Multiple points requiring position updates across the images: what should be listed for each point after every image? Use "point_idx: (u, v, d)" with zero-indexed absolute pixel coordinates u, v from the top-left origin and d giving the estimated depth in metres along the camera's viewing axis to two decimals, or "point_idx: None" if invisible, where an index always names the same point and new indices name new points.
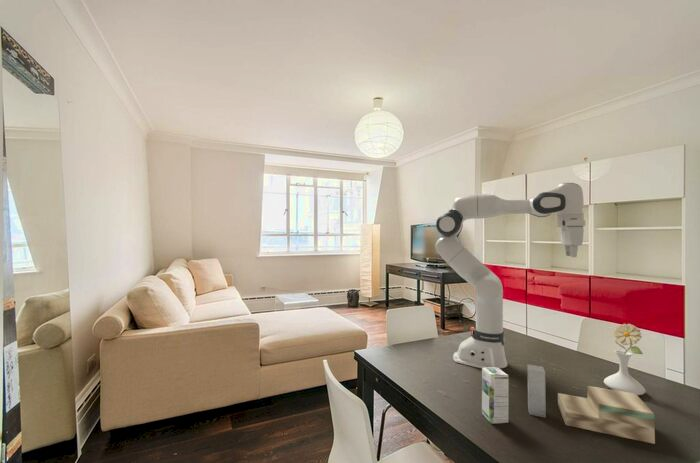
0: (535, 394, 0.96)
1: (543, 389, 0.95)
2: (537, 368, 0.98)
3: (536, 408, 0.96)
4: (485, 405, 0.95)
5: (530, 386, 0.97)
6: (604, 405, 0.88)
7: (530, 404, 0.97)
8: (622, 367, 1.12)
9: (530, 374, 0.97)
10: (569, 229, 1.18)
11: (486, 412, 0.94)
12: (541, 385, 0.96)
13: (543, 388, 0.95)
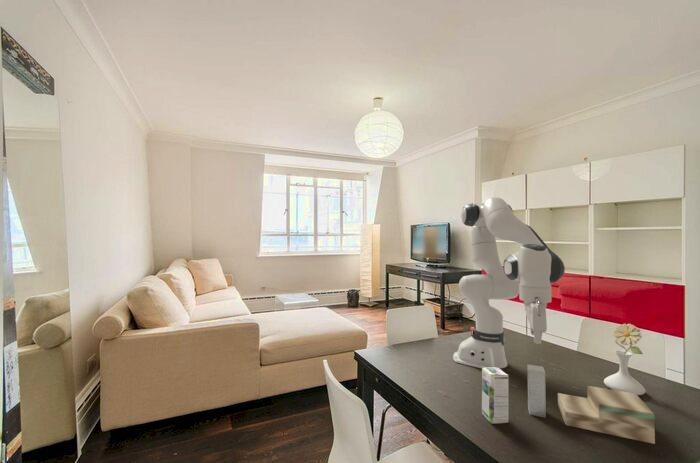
0: (535, 394, 0.96)
1: (543, 389, 0.95)
2: (537, 368, 0.98)
3: (536, 409, 0.96)
4: (485, 405, 0.95)
5: (530, 386, 0.97)
6: (604, 405, 0.88)
7: (530, 404, 0.97)
8: (622, 367, 1.12)
9: (530, 374, 0.97)
10: None
11: (486, 412, 0.94)
12: (541, 385, 0.96)
13: (543, 388, 0.95)
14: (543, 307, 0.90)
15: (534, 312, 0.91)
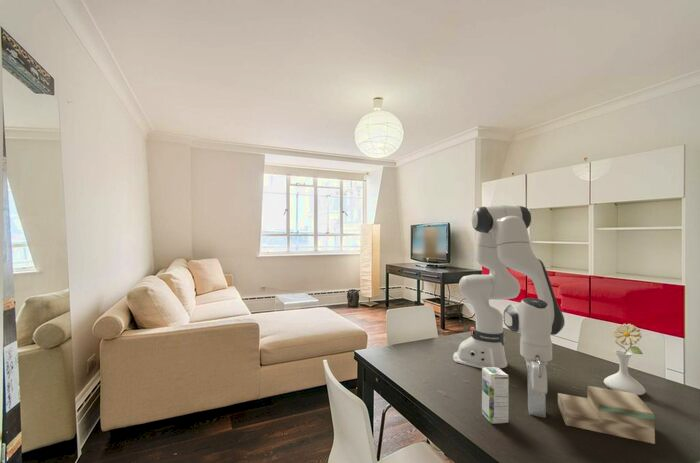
0: None
1: None
2: None
3: (536, 408, 0.96)
4: (485, 405, 0.95)
5: (530, 386, 0.97)
6: (604, 405, 0.88)
7: (530, 404, 0.97)
8: (622, 367, 1.12)
9: None
10: None
11: (486, 412, 0.94)
12: None
13: None
14: (544, 368, 0.90)
15: (535, 373, 0.90)
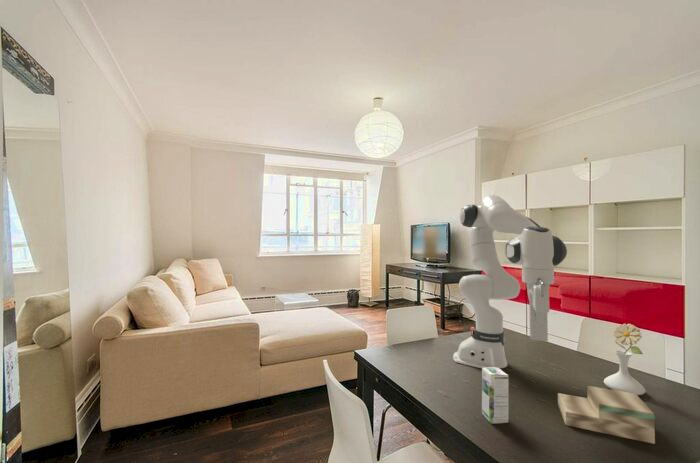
0: None
1: (545, 313, 0.96)
2: None
3: (538, 333, 0.96)
4: (485, 405, 0.95)
5: (532, 311, 0.97)
6: (604, 405, 0.88)
7: (532, 329, 0.97)
8: (622, 367, 1.12)
9: None
10: None
11: (486, 412, 0.94)
12: None
13: None
14: (546, 288, 0.90)
15: (537, 293, 0.90)
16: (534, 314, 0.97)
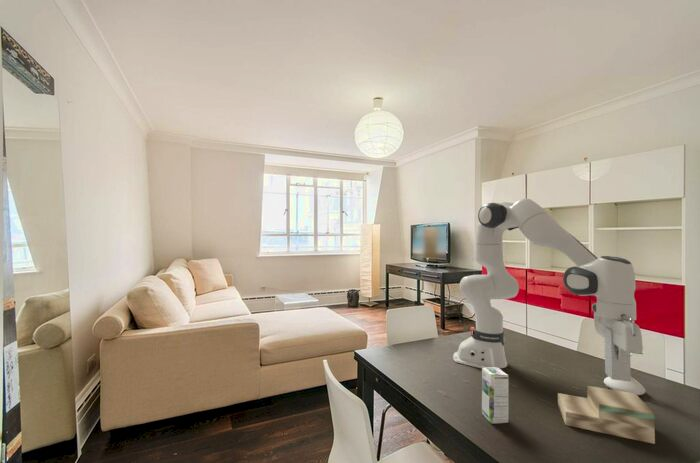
0: None
1: None
2: None
3: (620, 372, 0.89)
4: (485, 405, 0.95)
5: (613, 349, 0.90)
6: (604, 405, 0.88)
7: (613, 368, 0.90)
8: None
9: None
10: None
11: (486, 412, 0.94)
12: None
13: None
14: (637, 326, 0.83)
15: (628, 332, 0.83)
16: (615, 352, 0.90)
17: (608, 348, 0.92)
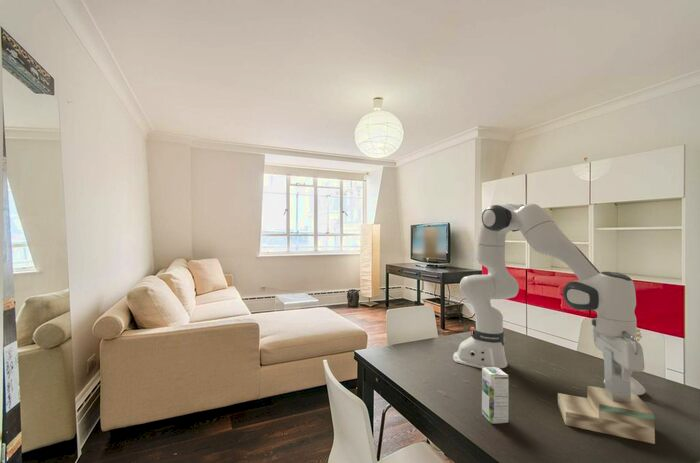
0: (619, 378, 0.89)
1: None
2: None
3: (620, 394, 0.89)
4: (485, 405, 0.95)
5: (613, 370, 0.90)
6: (604, 405, 0.88)
7: (613, 389, 0.90)
8: None
9: None
10: None
11: (486, 412, 0.94)
12: None
13: None
14: (639, 344, 0.83)
15: (630, 350, 0.83)
16: (615, 373, 0.90)
17: (608, 369, 0.92)
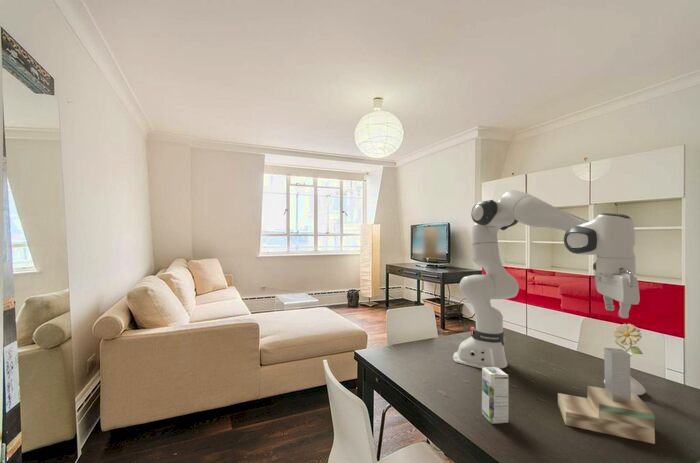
0: (619, 379, 0.89)
1: (628, 373, 0.89)
2: (618, 351, 0.91)
3: (620, 394, 0.89)
4: (485, 405, 0.95)
5: (613, 370, 0.90)
6: (604, 405, 0.88)
7: (613, 390, 0.90)
8: None
9: (613, 357, 0.90)
10: None
11: (486, 412, 0.94)
12: (625, 369, 0.89)
13: (628, 371, 0.89)
14: (634, 278, 0.83)
15: (625, 283, 0.83)
16: (615, 373, 0.90)
17: (608, 369, 0.92)
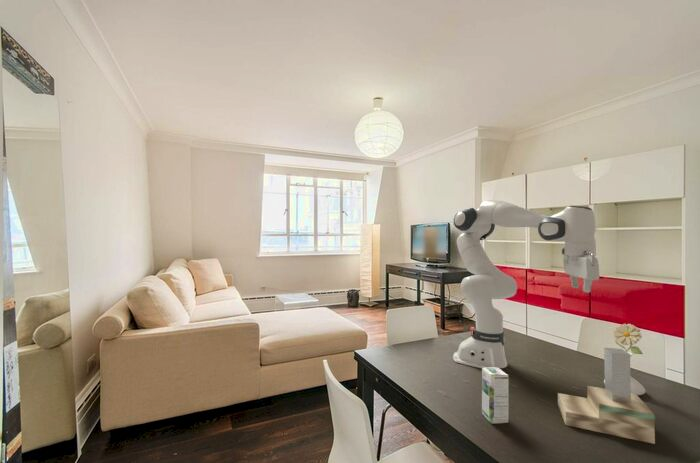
0: (619, 379, 0.89)
1: (628, 373, 0.89)
2: (618, 351, 0.91)
3: (620, 394, 0.89)
4: (485, 405, 0.95)
5: (613, 370, 0.90)
6: (604, 405, 0.88)
7: (613, 390, 0.90)
8: None
9: (613, 357, 0.90)
10: None
11: (486, 412, 0.94)
12: (625, 369, 0.89)
13: (628, 371, 0.89)
14: (595, 258, 1.01)
15: (588, 263, 1.01)
16: (615, 373, 0.90)
17: (608, 369, 0.92)
